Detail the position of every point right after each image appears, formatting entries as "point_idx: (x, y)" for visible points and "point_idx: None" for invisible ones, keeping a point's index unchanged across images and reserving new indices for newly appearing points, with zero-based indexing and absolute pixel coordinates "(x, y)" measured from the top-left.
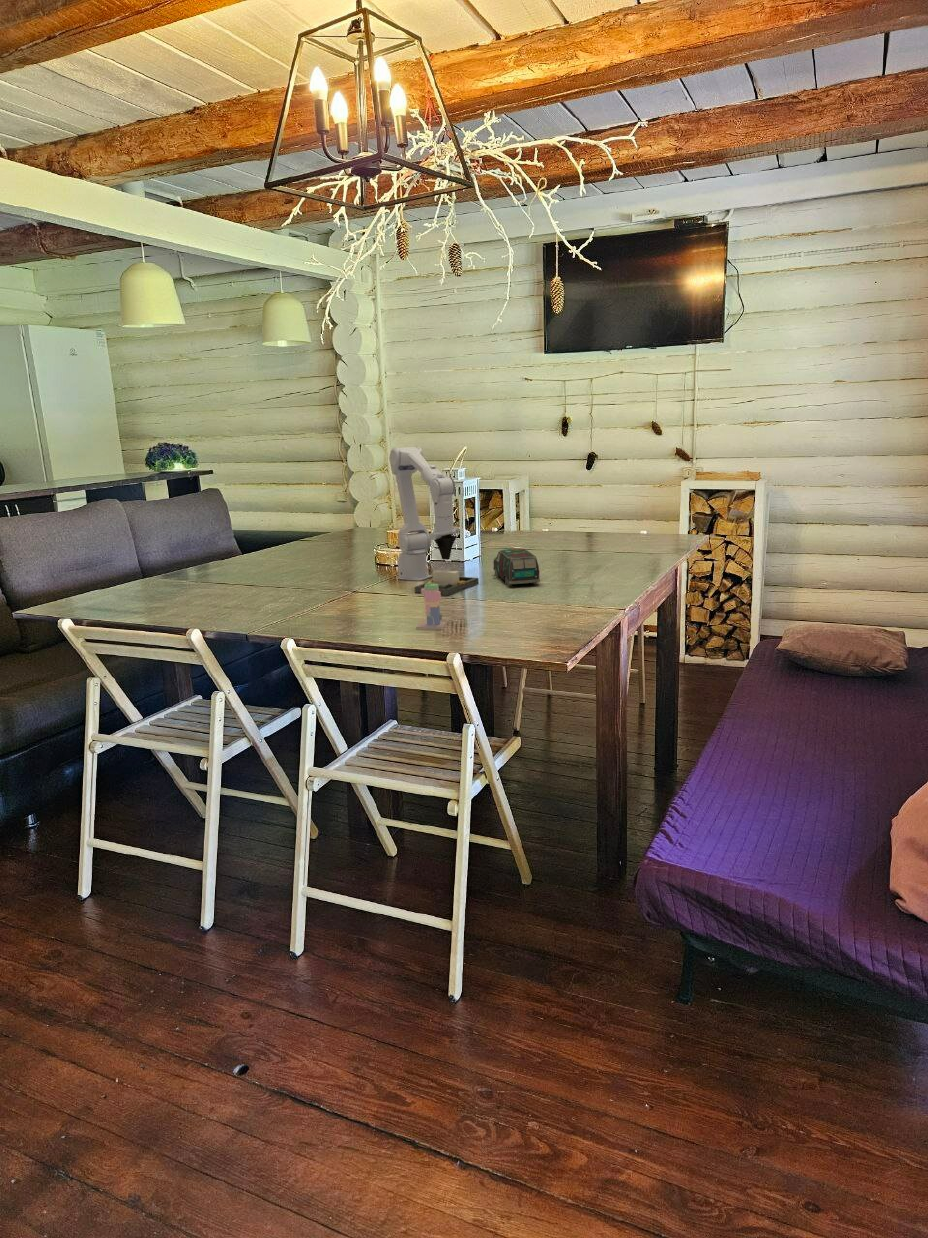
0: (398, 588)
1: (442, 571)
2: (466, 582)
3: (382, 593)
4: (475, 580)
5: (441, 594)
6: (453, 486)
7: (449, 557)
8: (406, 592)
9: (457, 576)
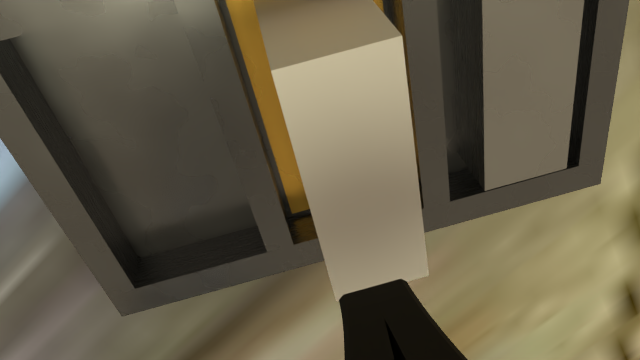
0: (479, 320)
1: (379, 216)
2: None
3: (625, 283)
4: None
5: None
6: None
7: (355, 306)
8: (564, 213)
9: (305, 34)
